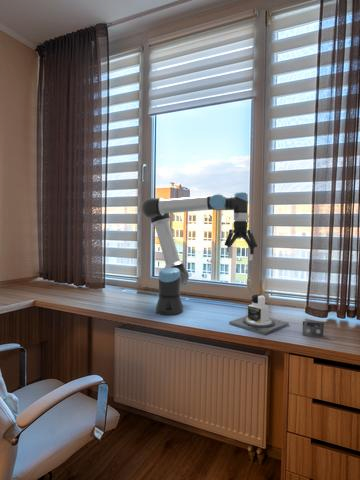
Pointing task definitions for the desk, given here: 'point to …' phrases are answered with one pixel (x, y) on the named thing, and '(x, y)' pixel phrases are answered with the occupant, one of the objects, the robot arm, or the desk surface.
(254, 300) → the medicine bottle
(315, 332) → the mini dv tape
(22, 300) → the desk surface
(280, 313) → the desk surface
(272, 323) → the plate
